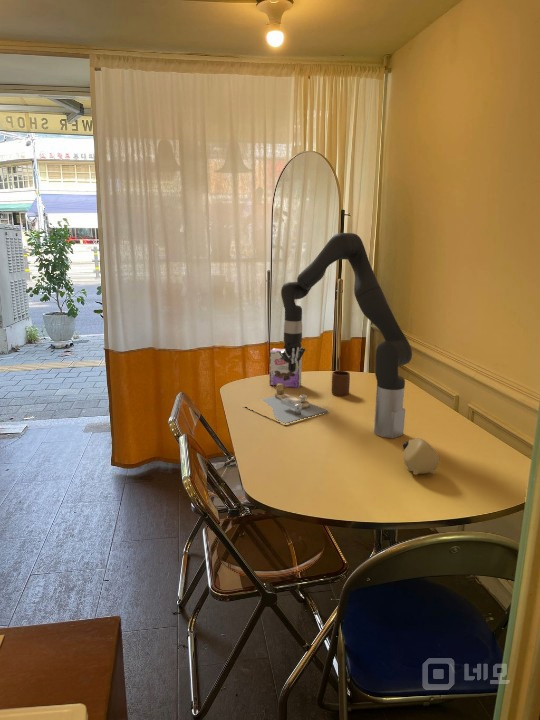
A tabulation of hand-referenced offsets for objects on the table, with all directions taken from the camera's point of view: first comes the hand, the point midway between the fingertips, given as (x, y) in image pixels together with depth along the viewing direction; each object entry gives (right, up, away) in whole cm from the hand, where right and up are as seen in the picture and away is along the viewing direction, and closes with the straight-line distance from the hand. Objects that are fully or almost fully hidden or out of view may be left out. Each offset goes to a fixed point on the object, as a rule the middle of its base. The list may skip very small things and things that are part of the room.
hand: (292, 371), depth 210 cm
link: (0, -12, -7) cm, 14 cm away
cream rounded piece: (+35, -28, -62) cm, 77 cm away
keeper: (+2, -14, -15) cm, 21 cm away
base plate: (-3, -15, -12) cm, 20 cm away
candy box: (-2, -7, +19) cm, 20 cm away
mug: (+21, -10, +9) cm, 25 cm away
